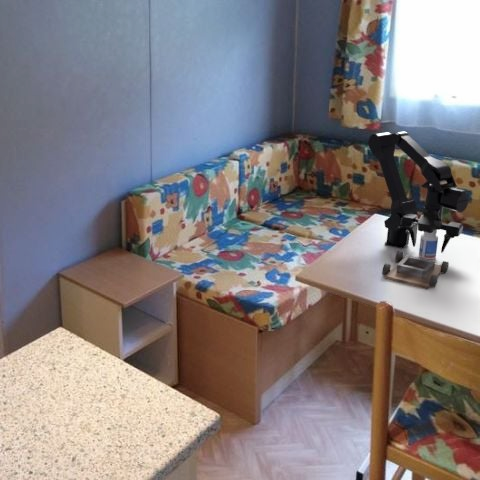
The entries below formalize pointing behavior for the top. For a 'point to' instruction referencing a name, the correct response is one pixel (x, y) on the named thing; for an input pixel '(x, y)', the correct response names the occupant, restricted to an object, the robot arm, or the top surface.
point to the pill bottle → (428, 245)
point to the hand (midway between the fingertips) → (427, 249)
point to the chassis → (414, 271)
